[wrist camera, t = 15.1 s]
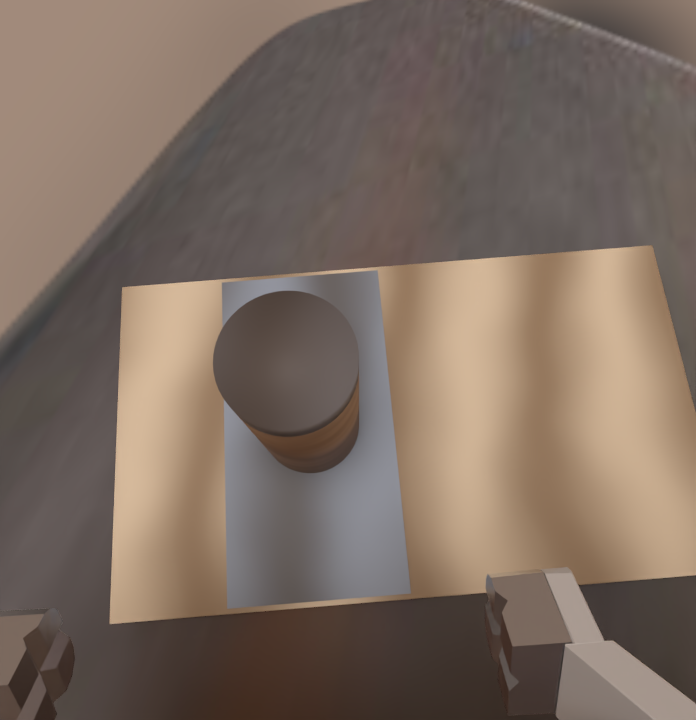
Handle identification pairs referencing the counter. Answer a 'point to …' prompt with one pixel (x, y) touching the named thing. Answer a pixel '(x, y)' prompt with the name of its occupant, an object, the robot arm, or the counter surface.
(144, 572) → the plywood board
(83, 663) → the counter surface
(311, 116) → the counter surface
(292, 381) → the peg
